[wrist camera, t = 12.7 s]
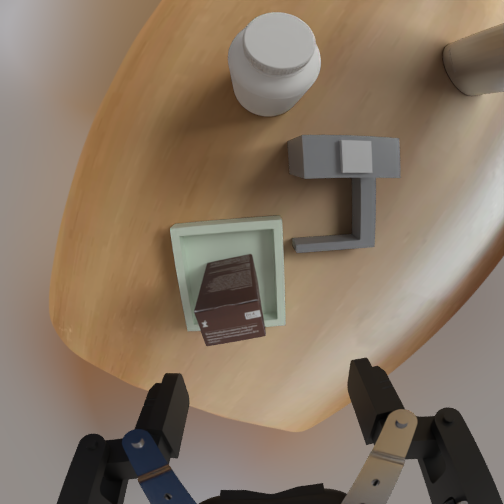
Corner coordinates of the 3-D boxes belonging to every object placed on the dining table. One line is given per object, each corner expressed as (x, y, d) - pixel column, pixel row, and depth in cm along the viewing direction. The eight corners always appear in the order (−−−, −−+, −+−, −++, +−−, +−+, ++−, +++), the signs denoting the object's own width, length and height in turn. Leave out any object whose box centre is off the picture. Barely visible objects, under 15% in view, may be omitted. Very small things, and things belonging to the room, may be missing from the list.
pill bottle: (231, 60, 29) (223, 0, 15) (296, 58, 29) (329, 2, 15) (234, 119, 32) (226, 89, 17) (301, 117, 32) (341, 89, 17)
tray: (279, 215, 35) (282, 219, 33) (283, 315, 40) (285, 325, 37) (174, 223, 35) (169, 228, 33) (190, 321, 40) (187, 331, 37)
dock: (364, 141, 33) (402, 138, 24) (365, 240, 37) (398, 265, 28) (287, 141, 33) (303, 134, 23) (292, 245, 37) (308, 274, 27)
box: (215, 293, 38) (204, 348, 26) (206, 261, 36) (190, 308, 25) (260, 284, 38) (267, 338, 26) (253, 252, 36) (258, 295, 25)
